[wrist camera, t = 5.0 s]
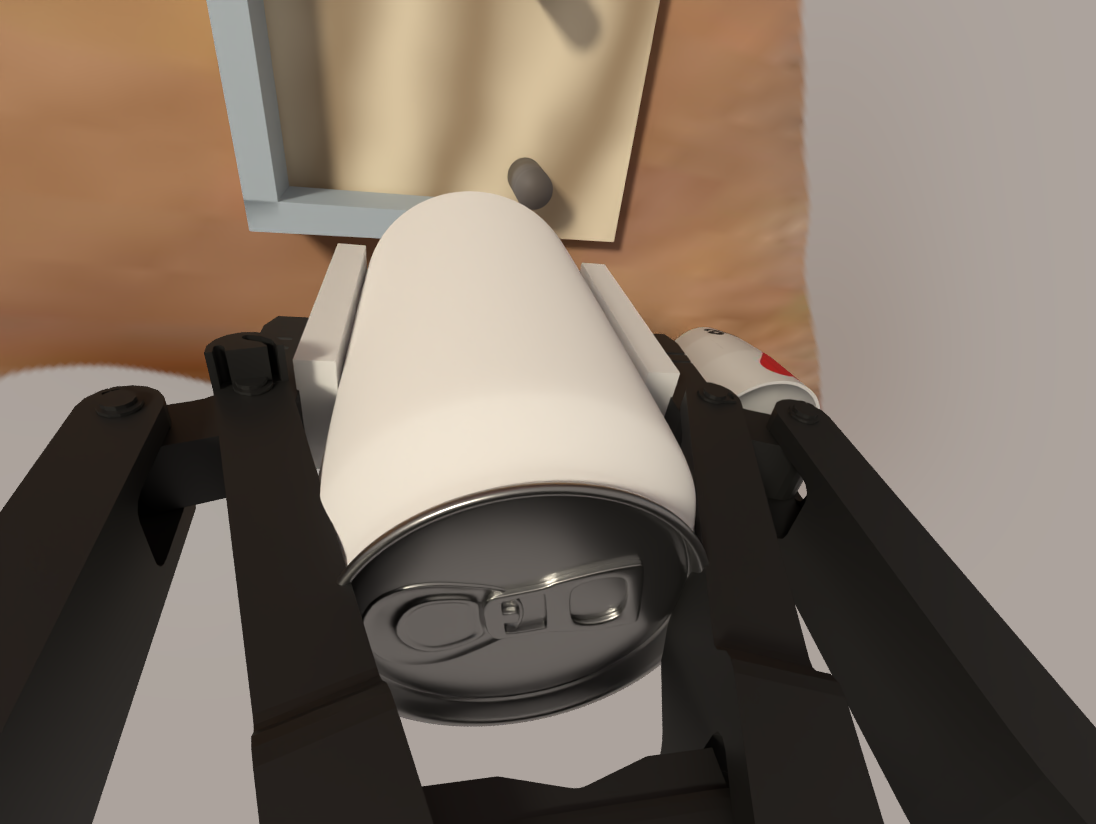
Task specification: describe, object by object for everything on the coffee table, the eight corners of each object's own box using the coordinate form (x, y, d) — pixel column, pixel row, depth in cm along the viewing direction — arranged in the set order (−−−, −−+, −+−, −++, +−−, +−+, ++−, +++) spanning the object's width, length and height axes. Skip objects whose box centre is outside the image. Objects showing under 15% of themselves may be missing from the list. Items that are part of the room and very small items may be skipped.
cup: (757, 364, 44) (831, 440, 36) (669, 415, 46) (723, 500, 38) (725, 287, 40) (803, 356, 32) (628, 348, 41) (679, 428, 33)
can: (341, 196, 15) (195, 509, 6) (571, 176, 16) (785, 424, 6) (390, 389, 19) (353, 770, 9) (573, 366, 20) (708, 697, 10)
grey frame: (262, 213, 29) (249, 230, 27) (194, -191, 21) (165, -217, 18) (470, 226, 32) (474, 243, 29) (484, -130, 23) (492, -146, 21)
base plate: (271, 213, 31) (252, 239, 27) (205, -196, 22) (165, -236, 18) (607, 234, 36) (628, 259, 32) (667, -97, 26) (706, -114, 23)
